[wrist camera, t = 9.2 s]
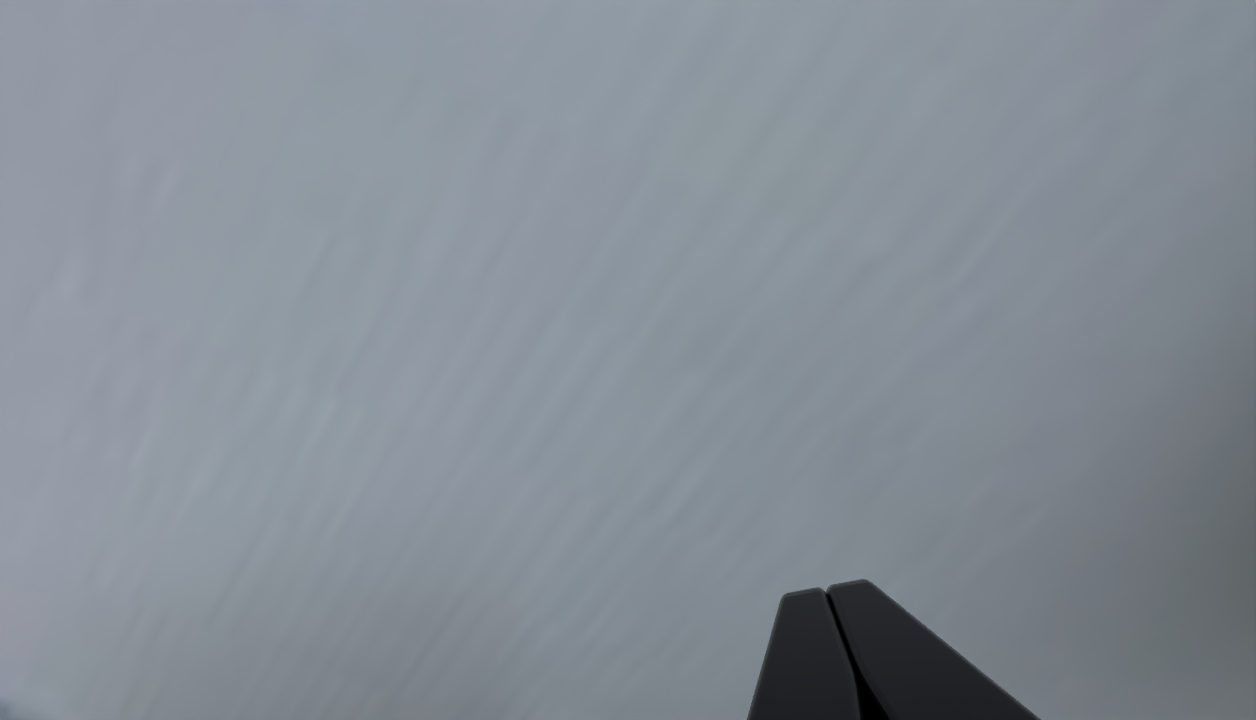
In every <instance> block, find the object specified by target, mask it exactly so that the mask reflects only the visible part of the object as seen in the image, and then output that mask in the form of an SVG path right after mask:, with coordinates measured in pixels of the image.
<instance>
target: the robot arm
mask: <svg viewBox="0 0 1256 720" xmlns="http://www.w3.org/2000/svg"><path fill="white" fill-rule="evenodd" d="M747 720H1041V719H1039V718H1038V717H1037V716H1036V715H1034V714H1033V713H1032V712H1031V711H1029V710H1028V709H1027V708H1026V707H1024V706H1023V705H1022V704H1021V703H1020V702H1018V701H1017V700H1016V699H1015V698H1013V697H1012V696H1011V695H1010V694H1008V693H1007V692H1006V691H1005V690H1004V689H1002V688H1001V687H1000V686H999V685H997V684H996V683H995V682H994V681H992V680H991V679H990V678H989V677H988V676H986V675H985V674H984V673H983V672H981V671H980V670H979V669H978V668H976V667H975V666H974V665H973V664H972V663H970V662H969V661H968V660H967V659H965V658H964V657H963V656H962V655H960V654H959V653H958V652H957V651H955V650H954V649H953V648H952V647H951V646H949V645H948V644H947V643H946V642H944V641H943V640H942V639H941V638H939V637H938V636H937V635H936V634H935V633H933V632H932V631H931V630H930V629H928V628H927V627H926V626H925V625H923V624H922V623H921V622H920V621H919V620H917V619H916V618H915V617H914V616H912V615H911V614H910V613H909V612H907V611H906V610H905V609H904V608H902V607H901V606H900V605H899V604H898V603H896V602H895V601H894V600H893V599H891V598H890V597H889V596H888V595H886V594H885V593H884V592H883V591H882V590H880V589H879V588H878V587H877V586H875V585H874V584H873V583H872V582H870V581H868V580H865V579H861V580H856V581H850V582H844V583H839V584H833V585H830V586H829V587H828V589H827V591H826V592H825V591H824V590H823V589H821V588H812V589H807V590H801V591H796V592H791V593H787V594H785V595H784V596H783V597H782V599H781V601H780V604H779V608H778V611H777V615H776V618H775V622H774V625H773V629H772V632H771V636H770V640H769V643H768V647H767V650H766V654H765V657H764V661H763V664H762V668H761V671H760V675H759V679H758V682H757V686H756V689H755V693H754V696H753V700H752V703H751V707H750V710H749V714H748V717H747Z"/></svg>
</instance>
